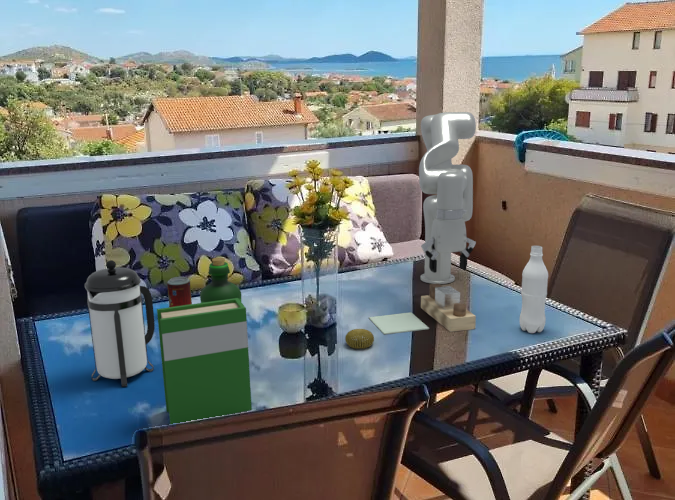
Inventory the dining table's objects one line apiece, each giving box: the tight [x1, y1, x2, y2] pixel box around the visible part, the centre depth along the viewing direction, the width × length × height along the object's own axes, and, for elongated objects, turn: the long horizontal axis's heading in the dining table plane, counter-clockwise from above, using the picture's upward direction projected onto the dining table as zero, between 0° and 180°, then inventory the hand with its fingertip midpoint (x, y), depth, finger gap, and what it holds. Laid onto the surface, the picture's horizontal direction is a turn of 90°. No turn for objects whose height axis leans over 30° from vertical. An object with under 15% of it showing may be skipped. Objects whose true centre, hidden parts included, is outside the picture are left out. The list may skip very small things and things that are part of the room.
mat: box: [368, 311, 430, 335], centre depth 189 cm, size 14×14×1 cm
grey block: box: [435, 285, 461, 310], centre depth 191 cm, size 7×5×5 cm
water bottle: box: [519, 245, 549, 334], centre depth 178 cm, size 7×7×25 cm
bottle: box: [199, 257, 242, 303], centre depth 160 cm, size 11×11×28 cm
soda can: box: [166, 276, 193, 307], centre depth 197 cm, size 7×7×12 cm
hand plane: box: [420, 283, 477, 333], centre depth 192 cm, size 22×8×8 cm, turn 15°
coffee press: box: [84, 260, 156, 388], centre depth 155 cm, size 17×16×30 cm
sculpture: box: [344, 328, 375, 350], centre depth 173 cm, size 8×4×8 cm
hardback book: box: [156, 298, 253, 424], centre depth 136 cm, size 18×7×24 cm, turn 112°
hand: (448, 270), depth 188 cm, fingers open, 9 cm apart
